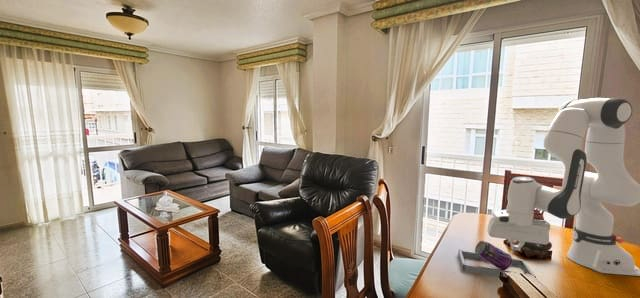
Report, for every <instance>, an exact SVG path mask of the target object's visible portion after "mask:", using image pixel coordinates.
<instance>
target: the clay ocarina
mask: <svg viewBox="0 0 640 298" xmlns="http://www.w3.org/2000/svg"><path fill="white" fill-rule="evenodd" d="M512 243H513V245H518V244H519V243H520V242H519V241H516V240H515V241H514V242H512ZM552 247H553V245H552V242H551V241H549V243H548V244H546V245H545V244H538V243H531V242H525V244H524V245H523V246H522V247H521V249H520V251H522V252H523V253H524V254H525V256H526V257H527V258H531V257H533V256H536V258H537V259H539V260H542V259H543V258H544V257H545V254H546V252H549V251H550V250H551V249H552Z"/></svg>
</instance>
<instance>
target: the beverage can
mask: <svg viewBox="0 0 640 298" xmlns="http://www.w3.org/2000/svg"><path fill="white" fill-rule="evenodd" d="M474 252H475V253H476V254H478V256H479V257H480V258H482V259H484V260H483V261H486V262H487V263H489V264H491V265H492V266H494V267H496V269H498V270H504V271H507V269H509V268H510V267H511V265H512V264H511V263H512V258H513V257H512V256H511V255H510V254H509V253H508V252H506V251H504V250H502V249H500V248H499V247H497V246H495V245H493V244H492V243H490V242H488V241H484V240H480V241H479V242H478V243H477V244H476V245H475V249H474Z"/></svg>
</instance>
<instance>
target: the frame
mask: <svg viewBox="0 0 640 298" xmlns="http://www.w3.org/2000/svg"><path fill="white" fill-rule="evenodd" d="M457 254H458V260H459V263H460V266H461V270H462V271H465V272H469V273H470V272H471V273H477V274H480V275H481V274H482V275H488V276H493V277H498V278H500V277H499V273H500V272H511V271H510V270H501V269H499V268H492V267H486V266H480V265H474V264H469V263H466V262H465V259H464V258H469V259H477V260H481V261H482V260H483V261H485V260H484V259H482V258H480V257H479V256H478V254H476V253H475V251H470V250H464V249H458V253H457ZM511 265H512V266H519V267H521V268H522V269H523V271H524V273H525V274H526V273H528V274H530V275H532V276H534V277H535V278H536V279H537V276H536V275H535V273H534V271H532V269H531V267H530V266H529V265H528V264H527V262H526V261H525V260H524V259H521V258H516V257H515V258H514V257H512V263H511ZM513 272H514V271H513ZM514 273H517V272H516V271H515V272H514Z"/></svg>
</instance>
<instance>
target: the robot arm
mask: <svg viewBox="0 0 640 298" xmlns="http://www.w3.org/2000/svg"><path fill="white" fill-rule="evenodd" d="M632 115H633V106H632V105H631V103H630V101H628V100H627V99H625V98H619V97H611V98H607V97H606V98H605V97H603V98H602V97H593V98H586V99H578V100H577V99H572V100H567V101H565V102H563V103H562V104H561V105H560V106H559V107H558V109H557V113H556V115H555V116H554V119H553V120H552V121H551V123H550V125H549V127H548V128H547V129H548V130H547V132H546V133H545V137H544V140H543V147H544V149H545V151H546V152H547V153H548V154H549V155H550V156H552V157H554V158H555V159H557V160H559V161H560V162H561V163H563V165H564V175H563V178H562V184H561V188H559V189H557V188H554V187H550V186H548V185H547V186H546V185H543V184H542V183H539V182H538V181H536V180H535V179H534V177H533V178H532V177H530V176H515V177H513V178H512V179H511V180H510V183H509V185H508V191H507V201H508V202H507V205H506V209H502V210H495V211H492V213H491V215H492V217H491V218H490V219H489V221H488V224H487V225H488V226H487V234H488V235H489V237H490V238H496V239H504V240H508V243H509V244H510V250H511V251H516V252H521V250H520V249H521V247H522V246H523V245H524V244H525V242H531V243H538V244H545V245H546V244H548V243H549V242H550V230H551V223H550V222H548V221H547V220H544V219H536V218H534V213H535V211H534V209H537V210H539V211H542V212H545V213H547V214H550V215H552V216H554V217H556V218H559V219H561V220H563V219H569V218H573V217H574V216H576V220H575V226H573V232H572V242H571V245H570V248H569V249H568V251H567V253H566V257H567V258H568V259H569V260H570V261H572V262H574V263H576V264H578V265H580V266H583V267H586V268H589V269H591V270H594V271H596V272H598V273H601V274H610V275H611V274H612V275H622V276H634V277H635V276H637V277H640V268H639V267H638V266H637V265H635V259H634V257H633V255H631V254H630V253H629V252H628V251H627V250H625V249H624V248H623V247H622V246H620V245H619V244H623V243H624V239H623V238H621V237H620V236H616V235H615V234H613V229H614V221H615V218H614V215H613V214H612V212H610V211H609V210H608V209H607V208H606V207H605V206H604V205H603V203H608V204H611V205H615V206H621V207H622V206H623V207H634V206H637V205H638V204H640V183H638V182H637V181H636V180H635V179H634V178H632V176H631V175H630V173H629V172H628V171H627V169H626V166H625V161H624V154H625V153H624V151H625V150H624V149H625V143H626V142H625V141H626V127H625V124H626V123H627V122H628V121H629V120H630V118H632V117H631V116H632ZM585 135H586V138H585ZM584 139H585V144H584V145H585V146H584V151H583V148H582V147H583V140H584ZM587 163H588V164H590V165H591V166H592V167H593V168H594V169H595V171H596V173H595V172H590V171H586V170H587V169H586V168H587ZM602 202H603V203H602ZM516 241H519V242H520V243H519V244H518V245H513V243H514V242H516ZM618 243H619V244H618Z"/></svg>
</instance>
